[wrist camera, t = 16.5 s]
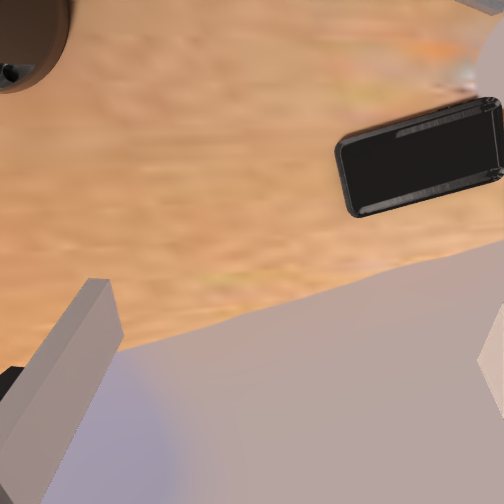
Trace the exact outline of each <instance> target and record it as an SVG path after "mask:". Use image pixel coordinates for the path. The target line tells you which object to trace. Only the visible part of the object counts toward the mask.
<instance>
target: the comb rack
mask: <svg viewBox="0 0 504 504" xmlns="http://www.w3.org/2000/svg"><path fill="white" fill-rule="evenodd" d="M456 1H458V2H460V3H463V4H465V5H468V6H470V7H472V8H475V9H477V10H479V11H482V12H484V13H487V14H489V15H491V16H493V15H496V14H499V13H502V11H503V9H504V0H456Z"/></svg>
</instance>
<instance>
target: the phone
mask: <svg viewBox="0 0 504 504" xmlns="http://www.w3.org/2000/svg"><path fill="white" fill-rule="evenodd" d="M334 153H335V159H336V161H337V162H336V163H337V168H338V172H339V177H340V181H341V185H342V190H343V194H344V199H345V203H346V208H347V210H348V212H349V213H350V214H351V216H353V217H356V218H362V217H366V216H370V215H373V214H377V213H381V212H384V211H388V210H392V209H396V208H399V207H403V206H407V205H410V204H414V203H418V202H421V201H425V200H429V199H433V198H436V197H440V196H444V195H447V194H451V193H455V192H458V191H462V190H466V189H469V188H473V187H477V186H481V185H484V184H488V183H492V182H495V181H497V180H499V179H501V178H502V177H503V175H504V127H503V114H502V105H501V102H500V101H499V100H498V99H496V98H494V97H482V98H480V99H476V100H471V101H468V102H466V103H463V104H462V103H460V104H457V105H453V106H451V107H450V108H448V107H446V108H443V109H439V110H438V111H436V112H433V113H429V114H426V115H423V116H419V117H416V118H413V119H409V120H406V121H402V122H399V123H396V124H392V125H389V126H386V127H382V128H379V129H376V130H372V131H369V132H365V133H362V134H359V135H355V136H352V137H349V138H345V139H343V140H341V141H339V142H338V143H337V145H336V147H335V150H334Z"/></svg>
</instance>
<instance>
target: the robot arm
mask: <svg viewBox="0 0 504 504" xmlns="http://www.w3.org/2000/svg"><path fill="white" fill-rule="evenodd" d="M68 25H69V5H68V0H0V94H7V93H14V92H18V91H21V90H24V89H27V88H29V87H31V86H33V85H34V84H36V83H37V82H39V81H40V80H42V79H43V78H44V77H45V76H46V75H47V74H48V73H49V72H50V71H51V69H52V68H53V67H54V65H55V64H56V62H57V61H58V59H59V57H60V55H61V53H62V50H63V47H64V45H65V41H66V37H67V32H68ZM123 337H124V334H123V330H122V326H121V322H120V318H119V314H118V310H117V306H116V302H115V299H114V295H113V291H112V287H111V283H110V280H109V279H92V278H89V279H88V280H87V281H86V283H85V284H84V286H83V287H82V288H81V290H80V291H79V293H78V294H77V295H76V297H75V298H74V300H73V301H72V302H71V304H70V305H69V306H68V308H67V309H66V311H65V312H64V313H63V315H62V316H61V318H60V319H59V320H58V322H57V323H56V325H55V326H54V327H53V329H52V330H51V332H50V333H49V334H48V336H47V337H46V339H45V340H44V341H43V343H42V344H41V346H40V347H39V348H38V350H37V351H36V353H35V354H34V355H33V357H32V358H31V360H30V361H29V362H28V364H27V365H26V367H15V366H11V367H10V368H8V369H7V370H6V371H4V372H3V373H2V374H1V375H0V504H40V503H41V501H42V499H43V497H44V495H45V493H46V491H47V489H48V487H49V484H50V483H51V481H52V479H53V477H54V475H55V473H56V471H57V469H58V467H59V465H60V463H61V461H62V459H63V457H64V455H65V453H66V450H67V449H68V447H69V445H70V443H71V441H72V439H73V437H74V434H75V433H76V431H77V429H78V427H79V425H80V422H81V421H82V419H83V417H84V415H85V413H86V411H87V409H88V407H89V405H90V403H91V401H92V399H93V397H94V395H95V393H96V391H97V389H98V387H99V385H100V383H101V381H102V379H103V377H104V375H105V373H106V371H107V369H108V367H109V365H110V363H111V361H112V359H113V357H114V355H115V353H116V351H117V349H118V347H119V345H120V343H121V341H122V339H123ZM477 362H478V364H479V366H480V369H481V370H482V373H483V375H484V377H485V379H486V382H487V384H488V386H489V388H490V390H491V393H492V395H493V397H494V399H495V401H496V403H497V406H498V408H499V410H500V412H501V415H502V417H503V419H504V303H502V306H501V308H500V310H499V312H498V315H497V317H496V319H495V321H494V324H493V326H492V328H491V330H490V333H489V335H488V337H487V340H486V342H485V344H484V347H483V349H482V351H481V353H480V355H479V358H478V360H477Z"/></svg>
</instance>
